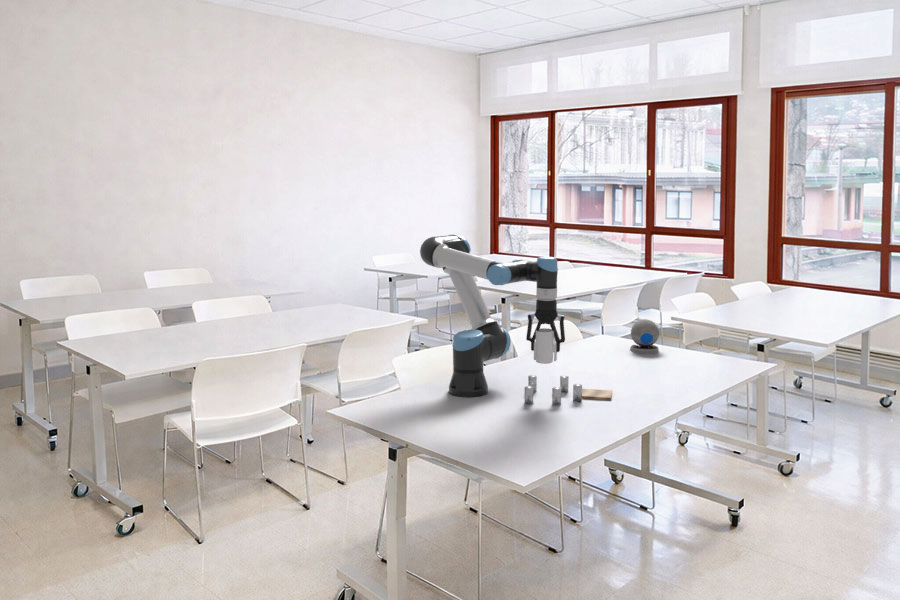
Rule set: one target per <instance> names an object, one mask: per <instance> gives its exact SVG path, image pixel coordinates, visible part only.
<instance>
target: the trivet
mask: <svg viewBox="0 0 900 600" xmlns="http://www.w3.org/2000/svg"><path fill="white" fill-rule="evenodd" d="M612 395H613V390H610V389H609V390H608V389H596V388H595V389H593V388H582V400H583V399H585V400H598V401H599V400H600V401H612Z"/></svg>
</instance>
